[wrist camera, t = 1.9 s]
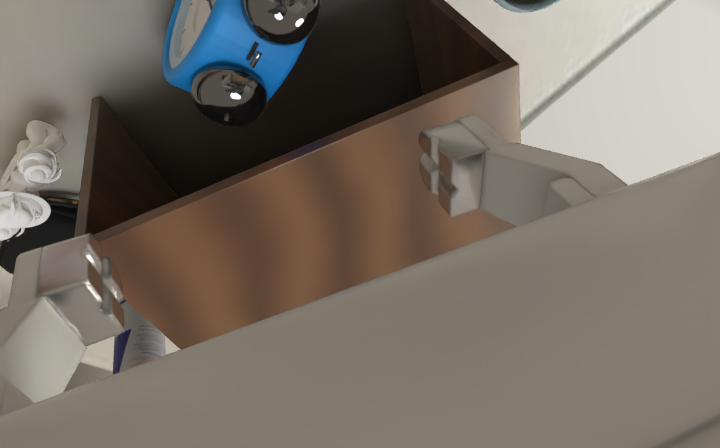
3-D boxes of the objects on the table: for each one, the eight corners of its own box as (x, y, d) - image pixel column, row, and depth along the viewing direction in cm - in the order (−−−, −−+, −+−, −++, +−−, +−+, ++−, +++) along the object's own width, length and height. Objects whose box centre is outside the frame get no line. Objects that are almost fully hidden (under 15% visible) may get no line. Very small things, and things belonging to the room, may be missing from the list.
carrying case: (182, 221, 55) (26, 177, 46) (183, 240, 53) (21, 198, 44) (143, 284, 59) (-5, 256, 50) (143, 304, 57) (-12, 278, 48)
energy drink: (106, 311, 60) (101, 401, 52) (132, 284, 59) (131, 373, 50) (147, 323, 64) (148, 409, 56) (172, 298, 62) (177, 383, 54)
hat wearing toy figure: (35, 90, 41) (9, 177, 33) (84, 113, 44) (71, 200, 35) (-11, 166, 44) (-45, 264, 36) (38, 184, 47) (16, 279, 39)
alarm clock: (229, -126, 36) (266, -72, 25) (301, -74, 39) (360, -7, 29) (157, 34, 41) (163, 131, 31) (226, 67, 45) (252, 164, 35)
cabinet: (406, -32, 44) (519, 63, 31) (443, 170, 62) (524, 284, 49) (91, 99, 43) (71, 253, 30) (222, 265, 61) (244, 406, 48)
